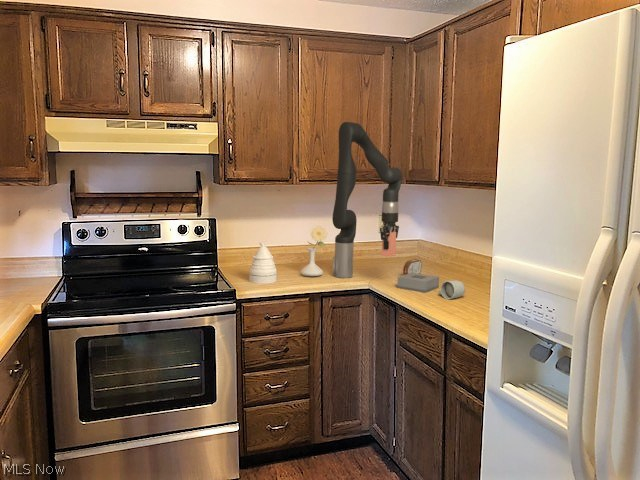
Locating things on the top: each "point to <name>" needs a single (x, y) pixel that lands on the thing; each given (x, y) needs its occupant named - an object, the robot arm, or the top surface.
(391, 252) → the plug
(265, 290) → the top surface
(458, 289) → the ceramic mug
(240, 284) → the top surface
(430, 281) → the socket block
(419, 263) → the tin
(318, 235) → the flower in vase
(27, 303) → the top surface
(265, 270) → the honey pot
